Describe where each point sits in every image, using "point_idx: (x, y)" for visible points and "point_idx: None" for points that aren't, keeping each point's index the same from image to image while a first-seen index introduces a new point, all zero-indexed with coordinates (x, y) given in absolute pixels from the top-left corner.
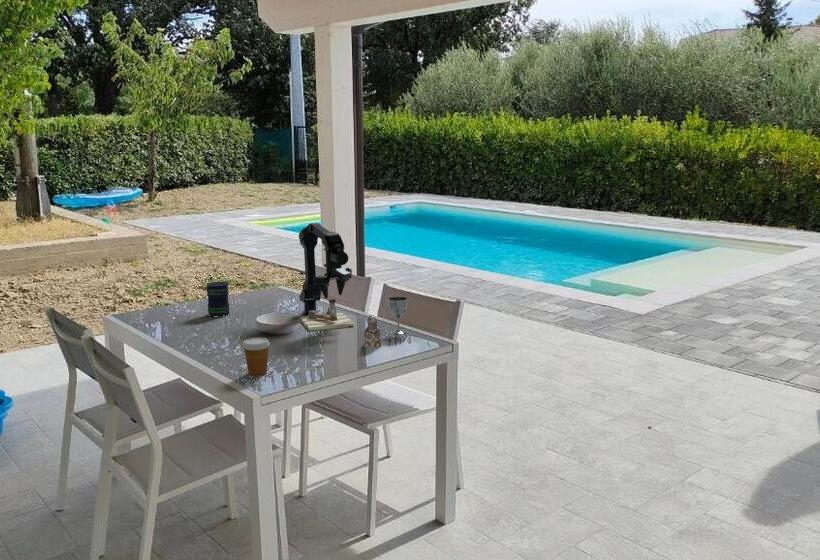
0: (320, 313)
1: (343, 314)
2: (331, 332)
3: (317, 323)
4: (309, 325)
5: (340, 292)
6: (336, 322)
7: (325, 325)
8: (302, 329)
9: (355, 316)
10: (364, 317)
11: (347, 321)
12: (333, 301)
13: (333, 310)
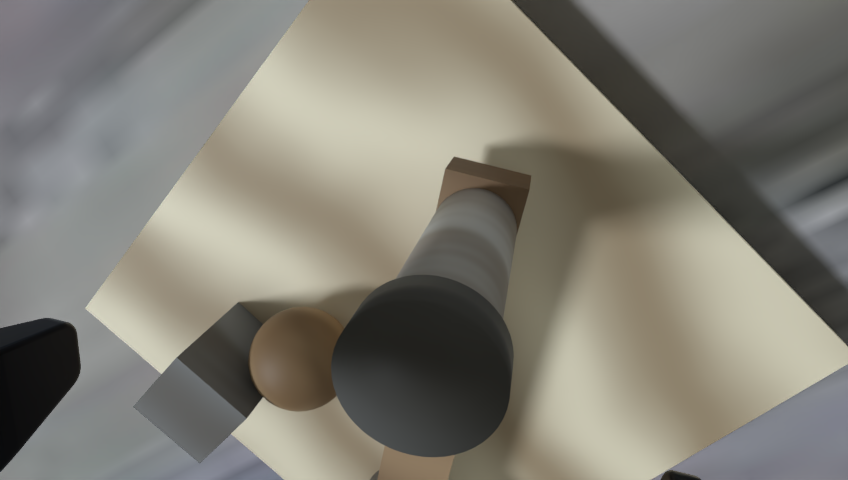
0: (389, 453)
1: (123, 273)
2: (844, 9)
3: (617, 350)
4: (752, 393)
5: (13, 377)
6: (472, 154)
7: (684, 207)
8: (789, 427)
9: (37, 168)
10: (2, 46)
11: (358, 39)
12: (473, 309)
13: (490, 235)
